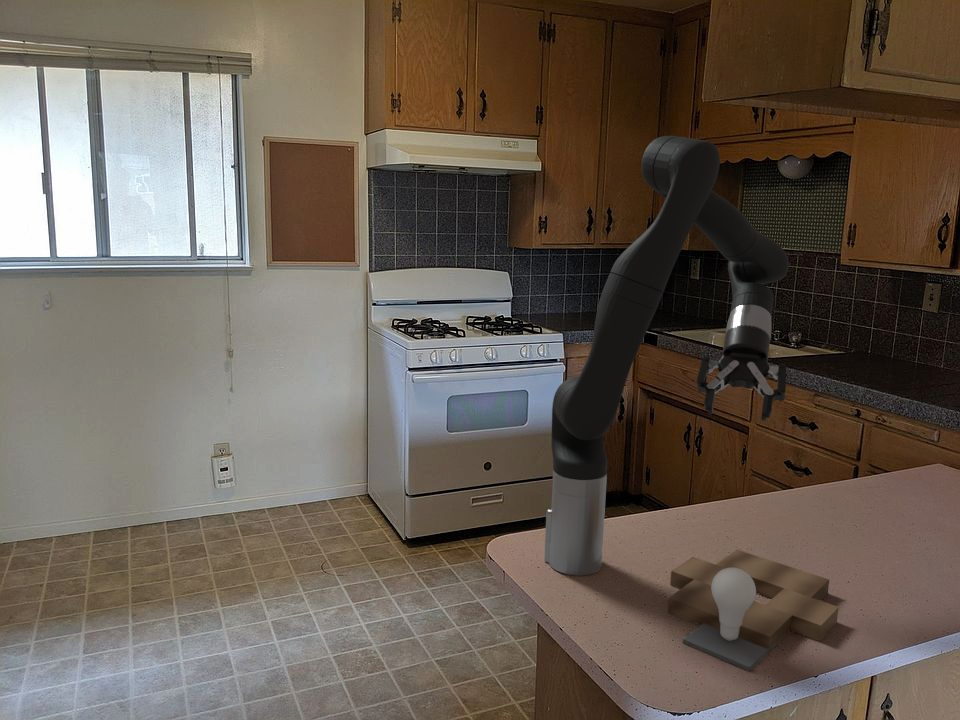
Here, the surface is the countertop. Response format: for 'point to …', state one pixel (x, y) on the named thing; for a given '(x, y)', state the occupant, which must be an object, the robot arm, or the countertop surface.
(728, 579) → the lightbulb
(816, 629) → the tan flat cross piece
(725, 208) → the robot arm
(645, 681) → the countertop surface
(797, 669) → the countertop surface
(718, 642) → the slate mat
